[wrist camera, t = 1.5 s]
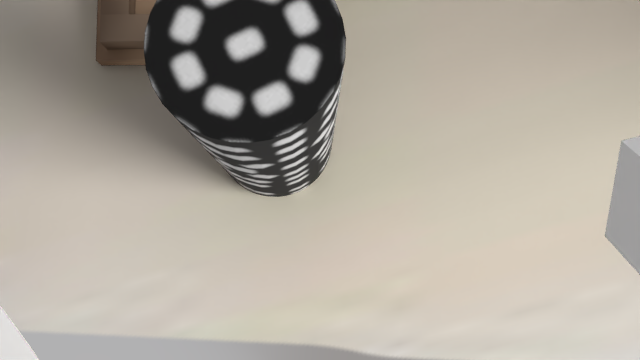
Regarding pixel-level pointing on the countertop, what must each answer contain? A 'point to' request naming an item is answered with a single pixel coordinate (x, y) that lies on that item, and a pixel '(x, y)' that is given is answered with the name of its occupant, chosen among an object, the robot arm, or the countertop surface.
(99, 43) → the walnut board
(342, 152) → the countertop surface
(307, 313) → the countertop surface
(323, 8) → the white-spotted black cylinder
